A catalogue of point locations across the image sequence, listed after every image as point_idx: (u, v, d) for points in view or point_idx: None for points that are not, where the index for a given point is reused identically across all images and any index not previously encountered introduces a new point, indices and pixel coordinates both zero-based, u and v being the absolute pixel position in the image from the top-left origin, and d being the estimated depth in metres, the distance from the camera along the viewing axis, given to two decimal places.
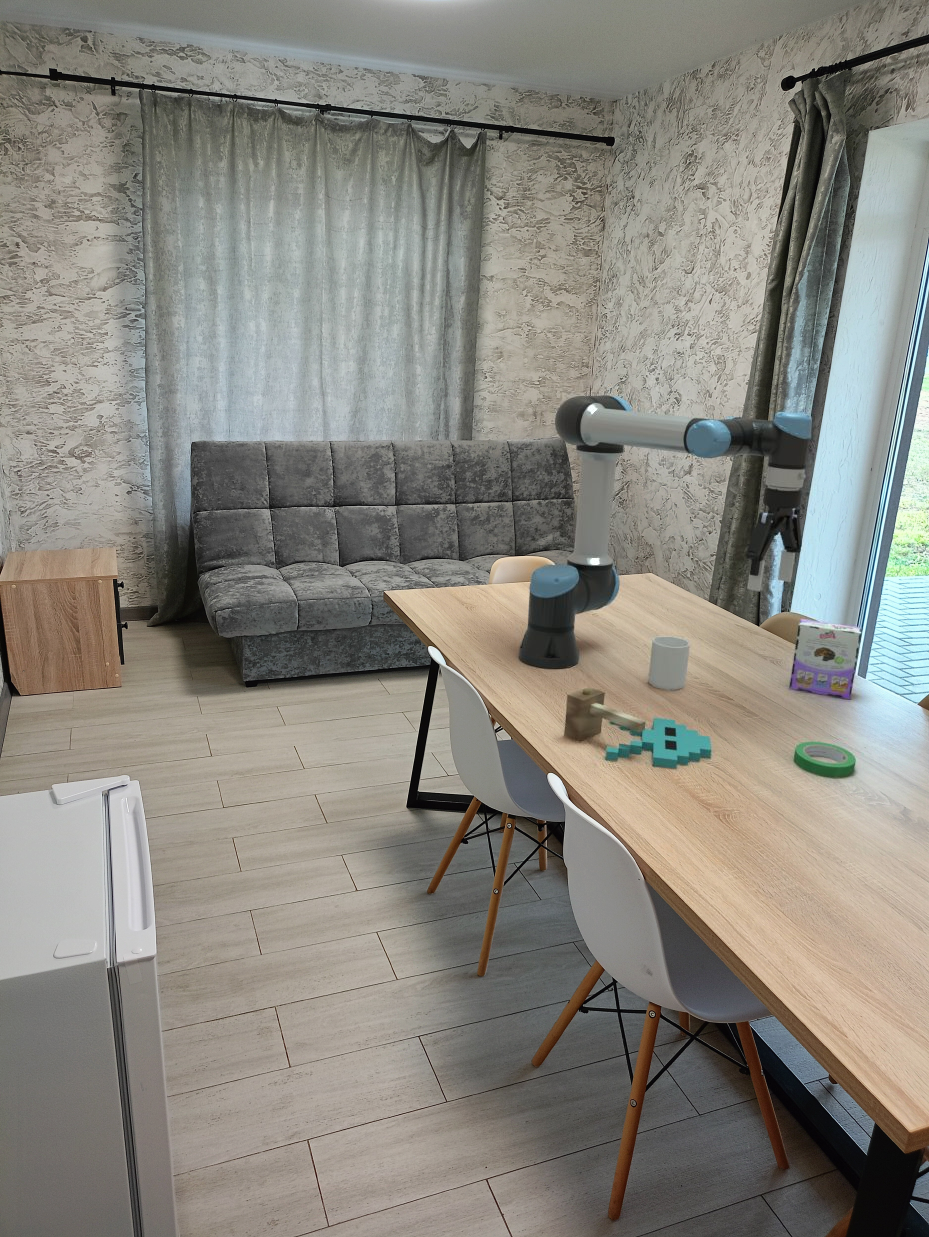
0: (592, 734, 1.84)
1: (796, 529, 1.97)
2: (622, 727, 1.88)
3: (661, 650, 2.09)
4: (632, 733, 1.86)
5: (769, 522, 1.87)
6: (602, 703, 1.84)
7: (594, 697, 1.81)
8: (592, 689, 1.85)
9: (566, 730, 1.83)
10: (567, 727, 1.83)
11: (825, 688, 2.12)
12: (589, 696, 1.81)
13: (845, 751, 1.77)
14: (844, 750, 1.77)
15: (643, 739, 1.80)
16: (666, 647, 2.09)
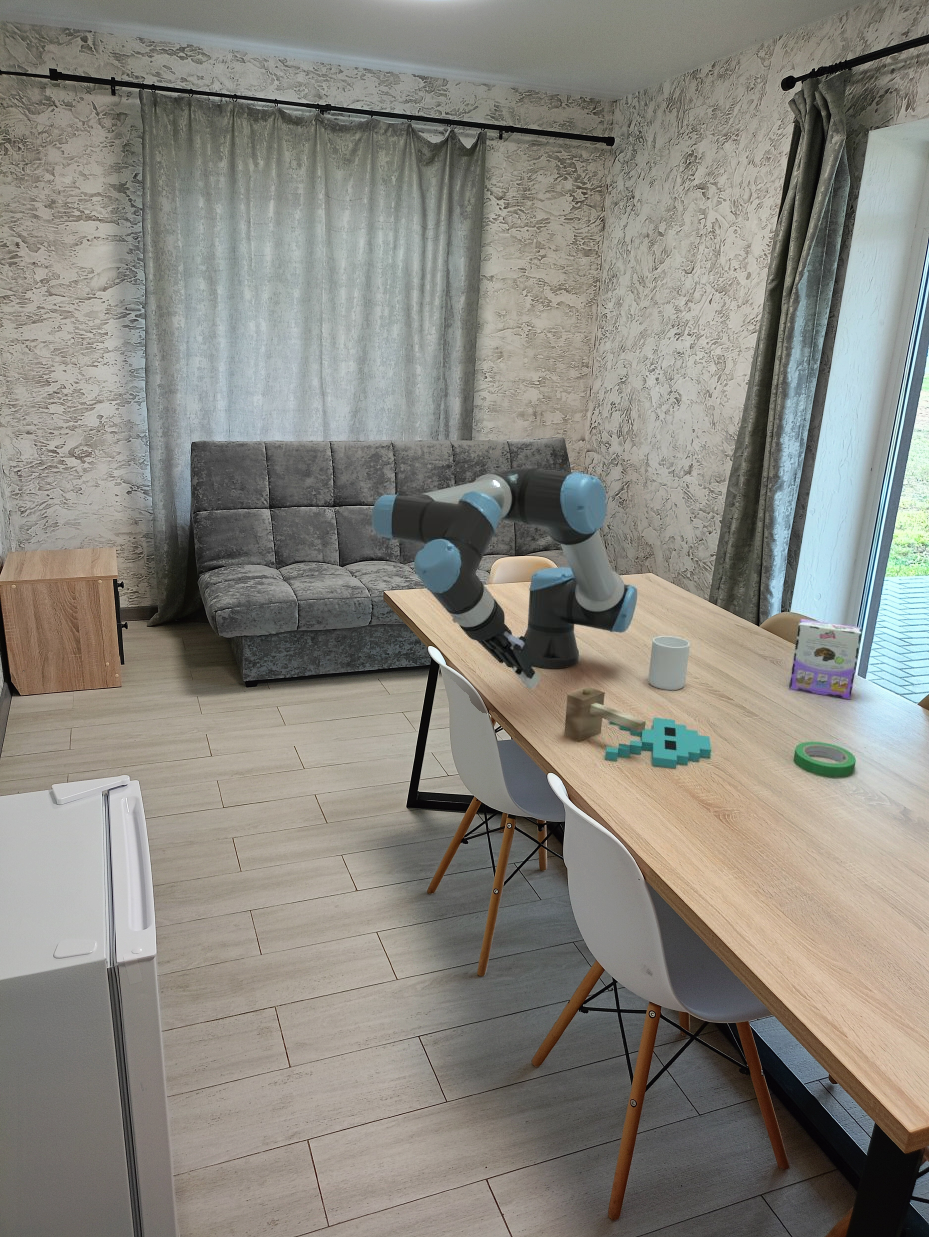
0: (592, 734, 1.84)
1: None
2: (622, 727, 1.88)
3: (661, 650, 2.09)
4: (632, 733, 1.86)
5: None
6: (602, 703, 1.84)
7: (594, 697, 1.81)
8: (592, 689, 1.85)
9: (566, 730, 1.83)
10: (567, 727, 1.83)
11: (825, 688, 2.12)
12: (589, 696, 1.81)
13: (845, 750, 1.77)
14: (844, 750, 1.77)
15: (643, 739, 1.80)
16: (666, 647, 2.09)
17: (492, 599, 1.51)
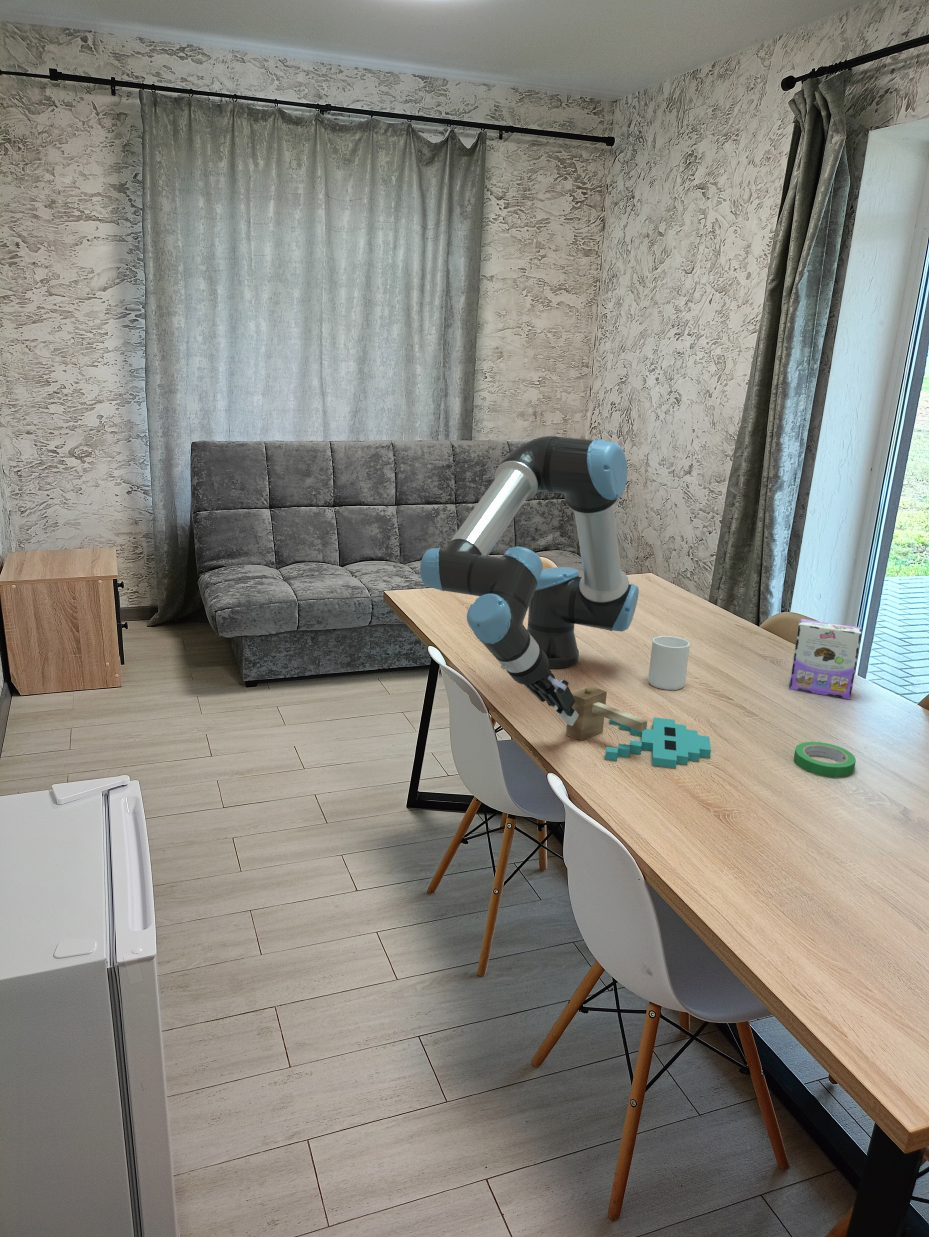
0: (594, 733, 1.84)
1: None
2: (622, 727, 1.88)
3: (661, 650, 2.09)
4: (632, 733, 1.86)
5: None
6: (604, 702, 1.84)
7: (596, 696, 1.82)
8: (594, 688, 1.85)
9: (568, 729, 1.84)
10: (569, 726, 1.83)
11: (825, 688, 2.12)
12: (591, 695, 1.81)
13: (844, 751, 1.77)
14: (844, 750, 1.77)
15: (643, 739, 1.80)
16: (666, 647, 2.09)
17: (537, 647, 1.63)
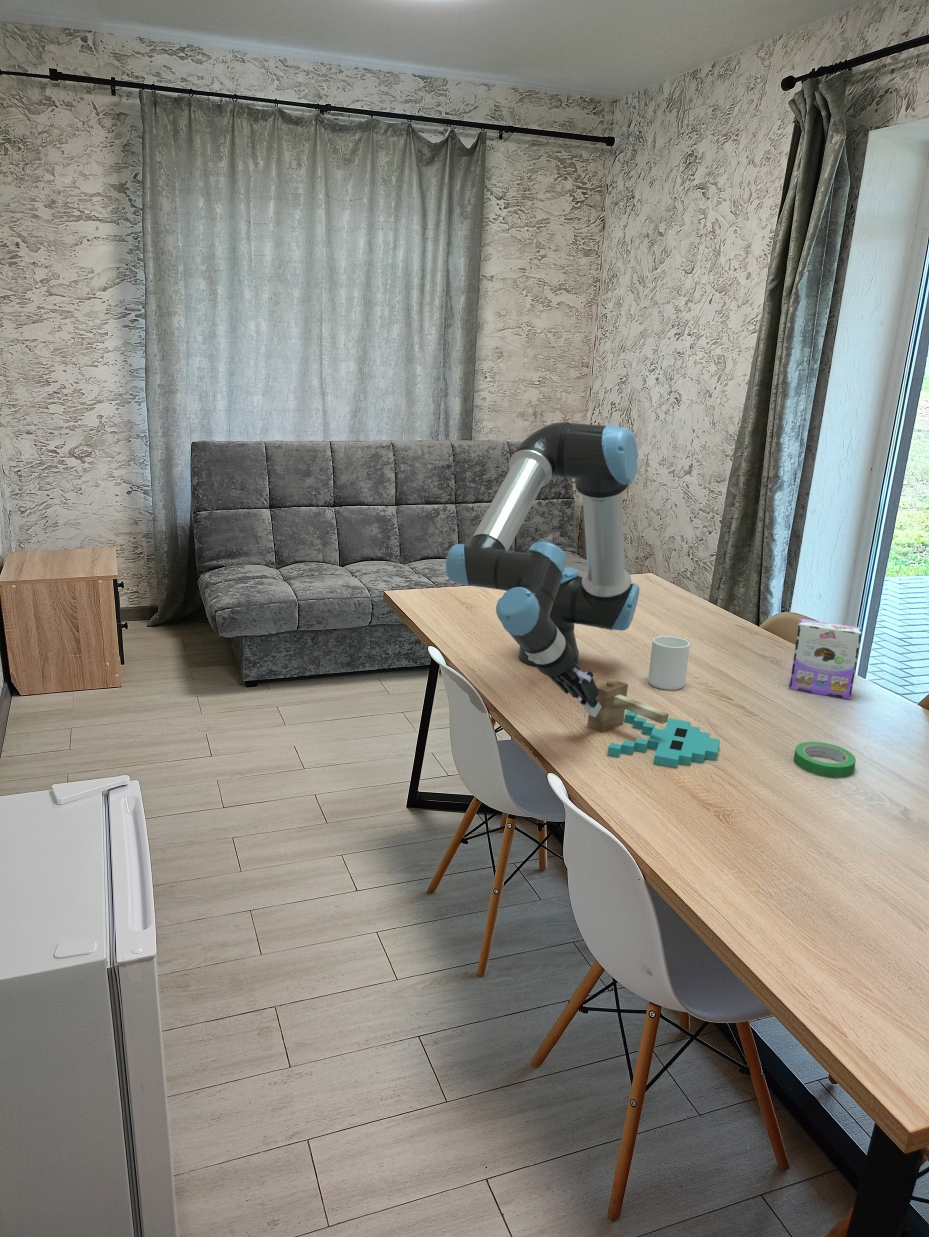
0: (614, 725, 1.89)
1: None
2: (634, 725, 1.89)
3: (661, 650, 2.09)
4: (643, 732, 1.86)
5: None
6: (625, 695, 1.89)
7: (618, 689, 1.86)
8: (616, 680, 1.90)
9: (590, 720, 1.88)
10: (591, 717, 1.88)
11: (825, 688, 2.12)
12: (613, 688, 1.86)
13: (845, 751, 1.77)
14: (844, 750, 1.77)
15: (650, 738, 1.80)
16: (666, 647, 2.09)
17: (564, 639, 1.67)
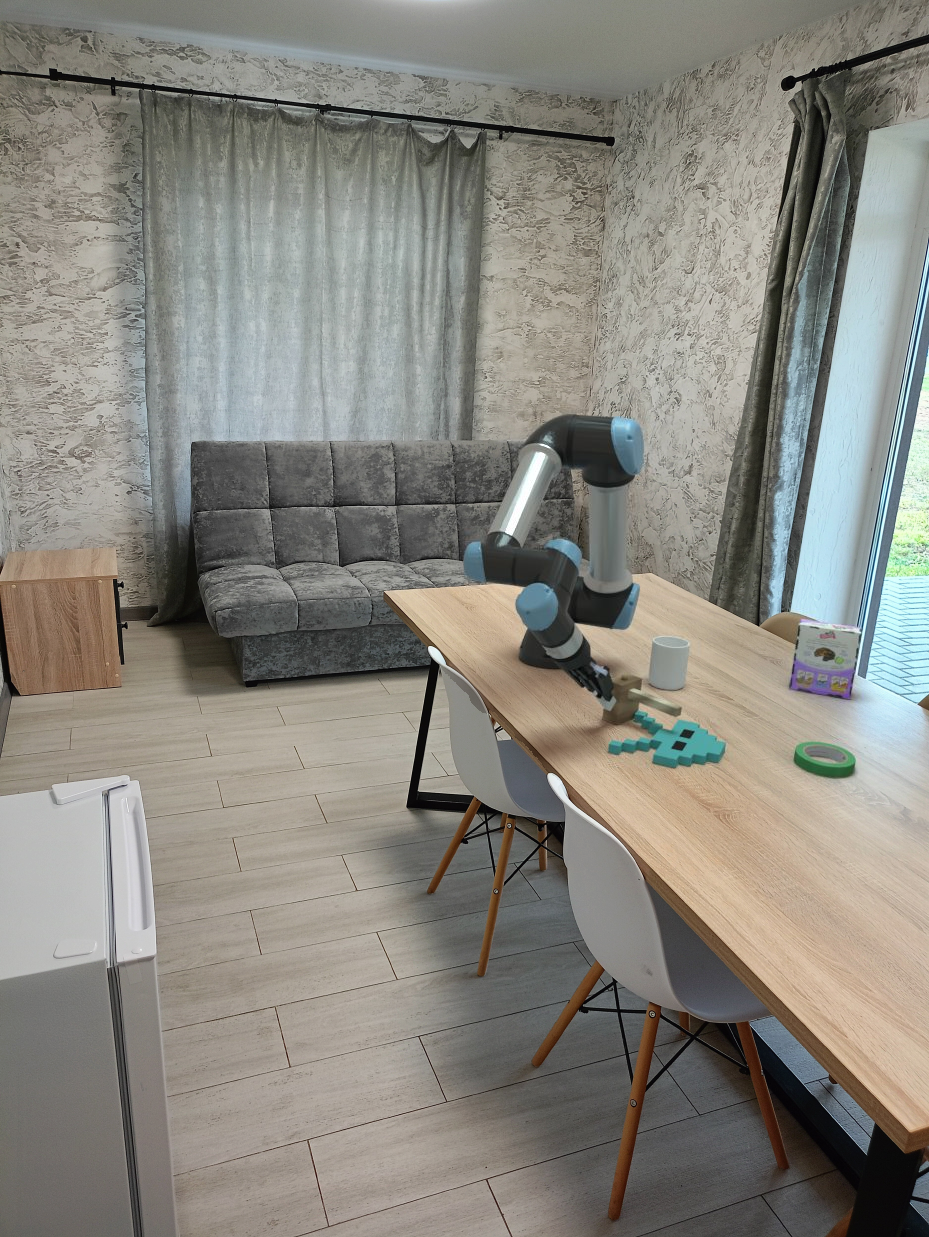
0: (629, 718, 1.93)
1: None
2: (643, 725, 1.90)
3: (661, 650, 2.09)
4: (650, 731, 1.87)
5: None
6: (639, 689, 1.92)
7: (632, 683, 1.90)
8: (630, 675, 1.94)
9: (604, 714, 1.92)
10: (605, 711, 1.92)
11: (825, 688, 2.12)
12: (627, 682, 1.90)
13: (845, 751, 1.77)
14: (844, 750, 1.77)
15: (654, 737, 1.81)
16: (666, 647, 2.09)
17: (581, 634, 1.71)
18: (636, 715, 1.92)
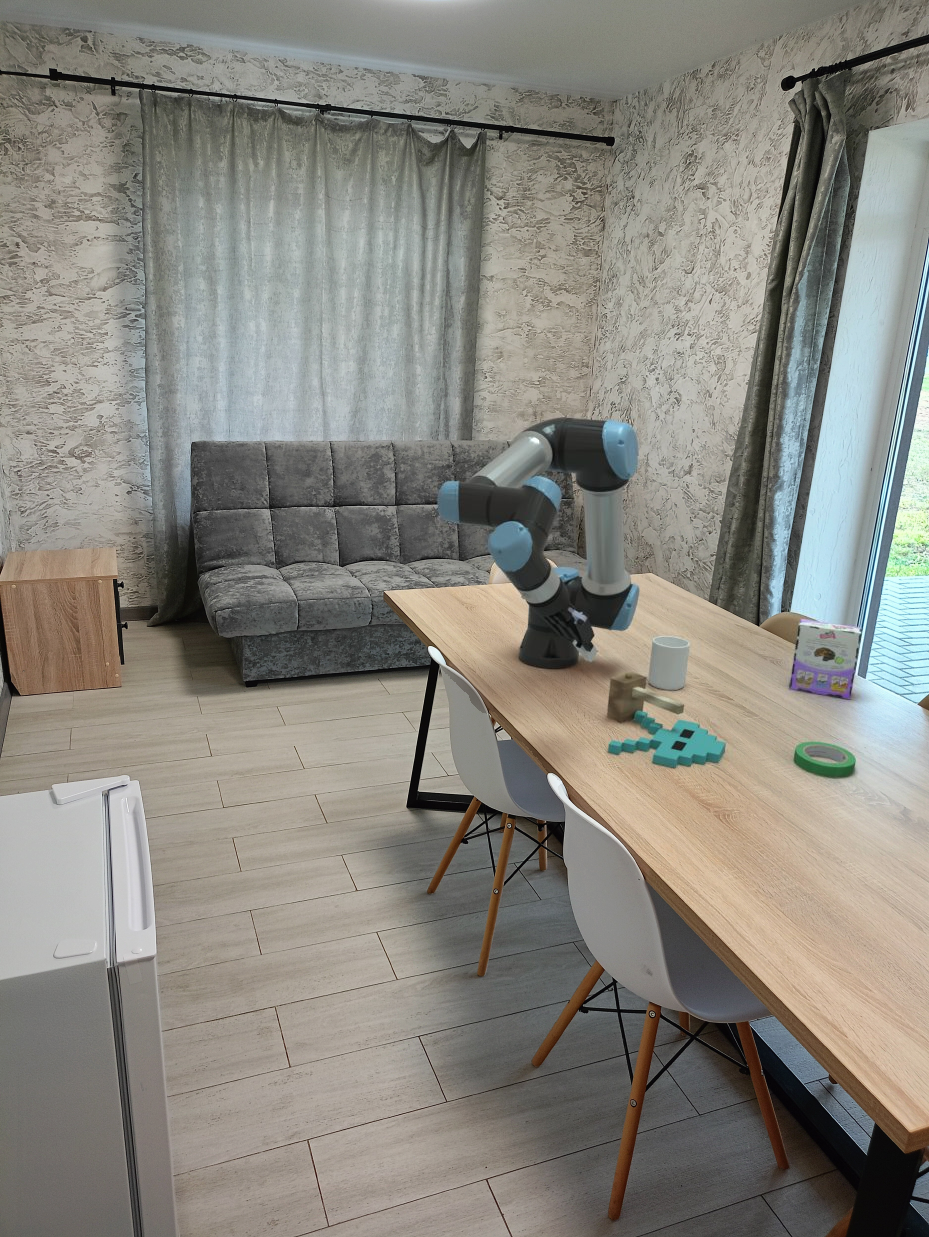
0: (633, 716, 1.94)
1: None
2: (643, 725, 1.90)
3: (661, 650, 2.09)
4: (650, 731, 1.87)
5: None
6: (644, 687, 1.94)
7: (636, 681, 1.91)
8: (634, 673, 1.95)
9: (609, 712, 1.94)
10: (610, 709, 1.93)
11: (825, 688, 2.12)
12: (631, 680, 1.91)
13: (845, 750, 1.77)
14: (844, 750, 1.77)
15: (653, 737, 1.81)
16: (666, 647, 2.09)
17: (558, 577, 1.62)
18: (636, 715, 1.92)
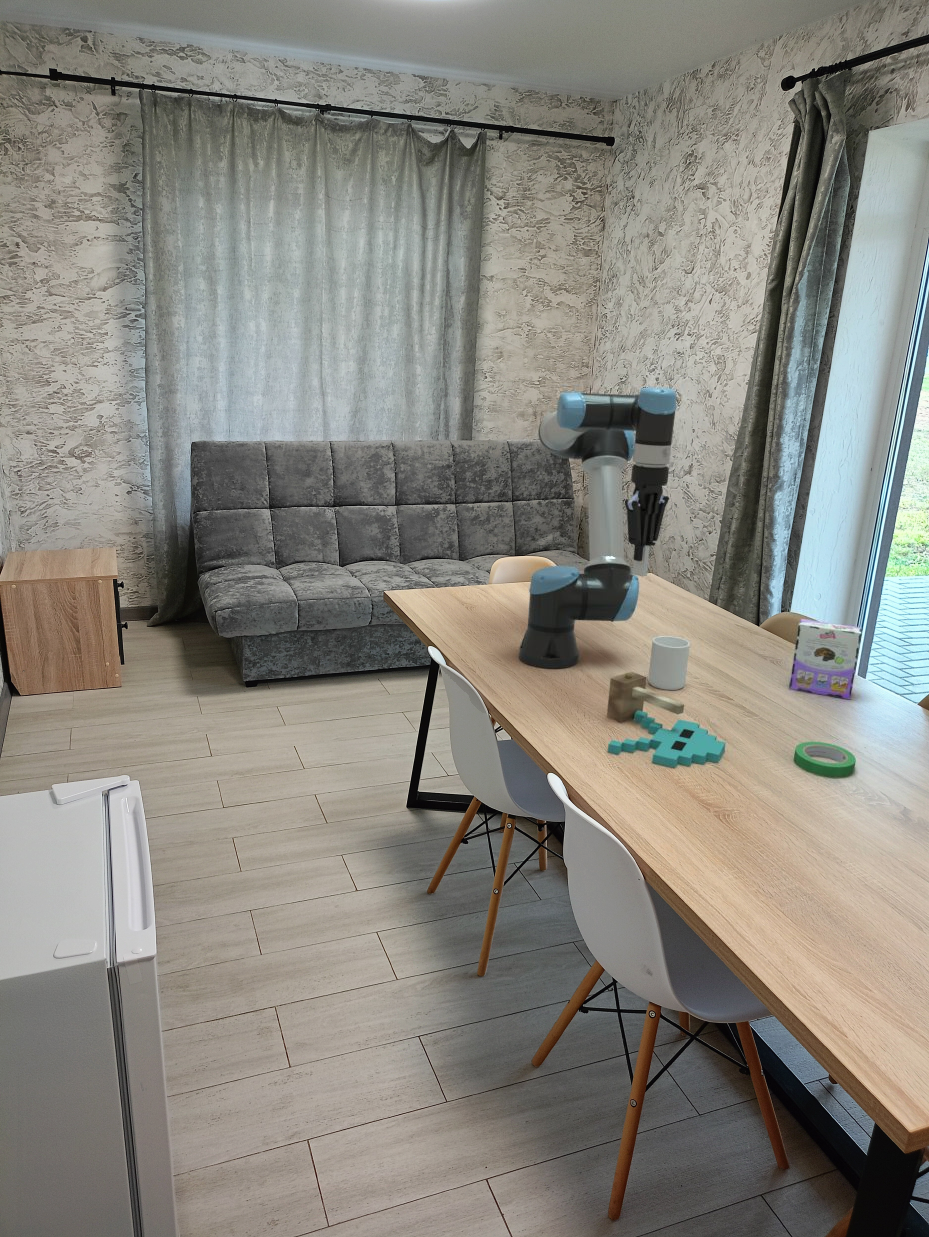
0: (633, 716, 1.94)
1: (658, 516, 1.93)
2: (643, 725, 1.90)
3: (661, 650, 2.09)
4: (649, 731, 1.87)
5: (636, 508, 1.86)
6: (644, 687, 1.94)
7: (636, 681, 1.91)
8: (634, 673, 1.95)
9: (609, 712, 1.94)
10: (610, 709, 1.93)
11: (825, 688, 2.12)
12: (631, 680, 1.91)
13: (845, 750, 1.77)
14: (844, 750, 1.77)
15: (653, 737, 1.81)
16: (666, 647, 2.09)
17: None
18: (636, 715, 1.92)
